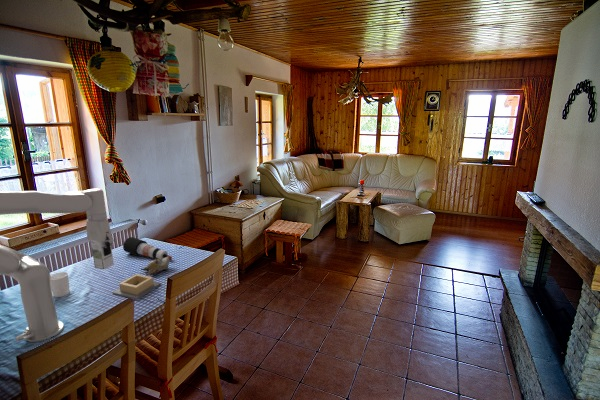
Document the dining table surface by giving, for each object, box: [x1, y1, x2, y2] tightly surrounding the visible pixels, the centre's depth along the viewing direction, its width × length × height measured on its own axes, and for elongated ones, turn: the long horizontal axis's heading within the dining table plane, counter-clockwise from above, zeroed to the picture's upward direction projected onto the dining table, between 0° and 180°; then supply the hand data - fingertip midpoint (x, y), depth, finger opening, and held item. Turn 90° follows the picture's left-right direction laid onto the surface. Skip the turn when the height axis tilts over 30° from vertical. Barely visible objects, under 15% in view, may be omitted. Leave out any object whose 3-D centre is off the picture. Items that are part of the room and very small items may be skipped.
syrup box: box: [89, 239, 115, 270], centre depth 149 cm, size 6×6×14 cm
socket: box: [111, 273, 162, 301], centre depth 167 cm, size 16×16×5 cm
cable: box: [122, 236, 173, 261], centre depth 205 cm, size 10×34×10 cm, turn 69°
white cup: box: [50, 271, 71, 298], centre depth 162 cm, size 8×8×10 cm
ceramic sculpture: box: [140, 257, 170, 276], centre depth 186 cm, size 11×9×15 cm
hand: (102, 253), depth 149 cm, fingers closed on syrup box, 5 cm apart
